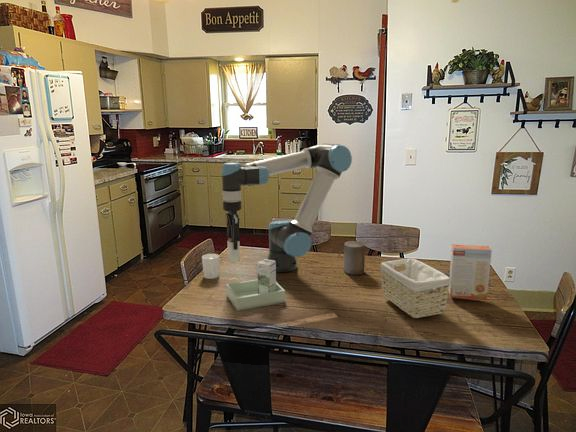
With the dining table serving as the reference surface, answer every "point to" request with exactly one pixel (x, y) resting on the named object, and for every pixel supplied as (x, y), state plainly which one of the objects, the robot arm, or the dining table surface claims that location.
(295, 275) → the dining table surface
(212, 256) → the white cup
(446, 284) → the storage basket
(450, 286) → the cracker box
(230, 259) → the spice jar
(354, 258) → the pillar candle
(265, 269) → the syrup box
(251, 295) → the tote
